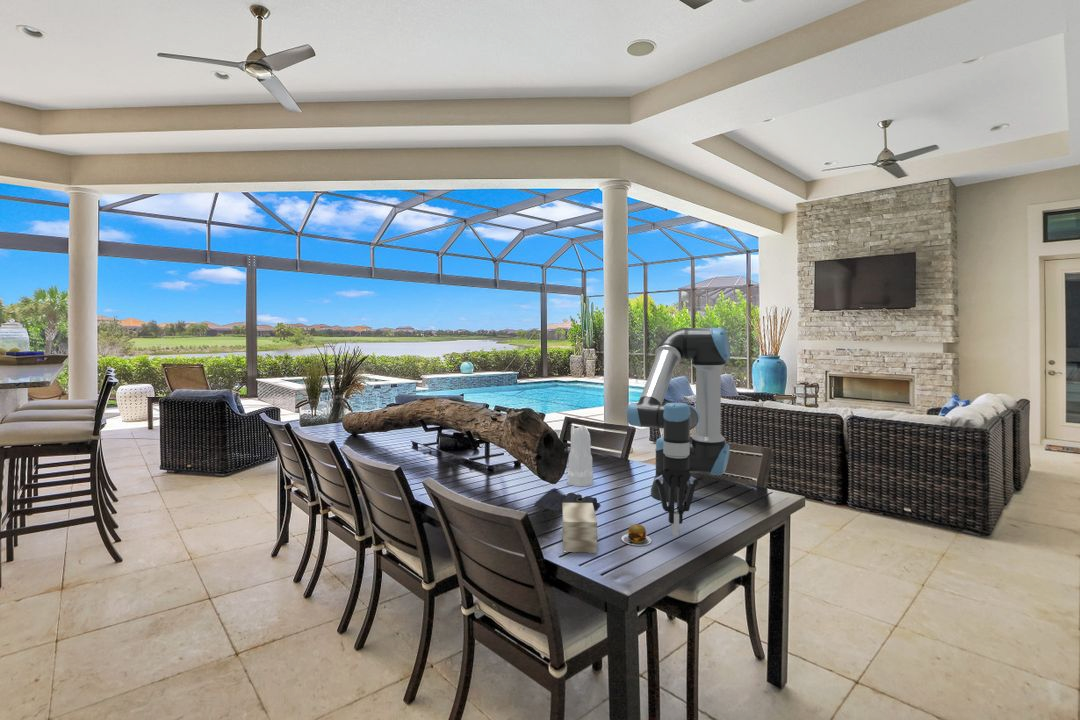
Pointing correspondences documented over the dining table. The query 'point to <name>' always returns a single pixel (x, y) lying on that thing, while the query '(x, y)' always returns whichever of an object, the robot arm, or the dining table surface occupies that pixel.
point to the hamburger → (636, 535)
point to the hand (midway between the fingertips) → (675, 533)
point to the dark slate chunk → (563, 501)
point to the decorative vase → (580, 458)
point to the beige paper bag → (579, 527)
